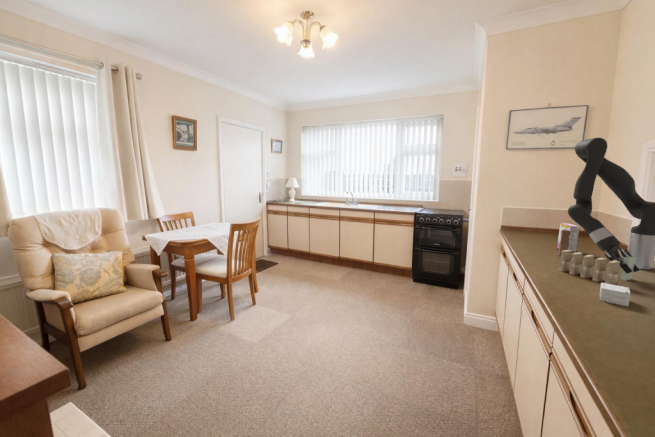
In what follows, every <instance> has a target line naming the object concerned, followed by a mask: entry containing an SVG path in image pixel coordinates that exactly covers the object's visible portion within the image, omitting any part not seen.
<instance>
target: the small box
mask: <svg viewBox="0 0 655 437" xmlns="http://www.w3.org/2000/svg"><path fill="white" fill-rule="evenodd" d="M630 299H631V290H630V287H628V286H622V285H618V284H614V285H612V284H607V283H605V282H600V288H599V301H600V302H605V301H606V302H607V303H610V304H614V303H615V305H620V306H624V307H629V306H630V302H631V300H630Z"/></svg>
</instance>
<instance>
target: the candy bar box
mask: <svg viewBox="0 0 655 437" xmlns="http://www.w3.org/2000/svg"><path fill="white" fill-rule="evenodd" d="M580 228H581V226H580V225H579V226H578V225H575V224H572V223H568V222H567V223H565V222H560V223H559V228H558V229H559V230H558V236H557V244H556V249H557V250H559V246H560V239H561V231H562V230H569V231H570V234H569V241H568V249H569V250H574V253H577V251H578V250H577V249H578V243H579V236H580V235H579V234H580Z"/></svg>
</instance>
